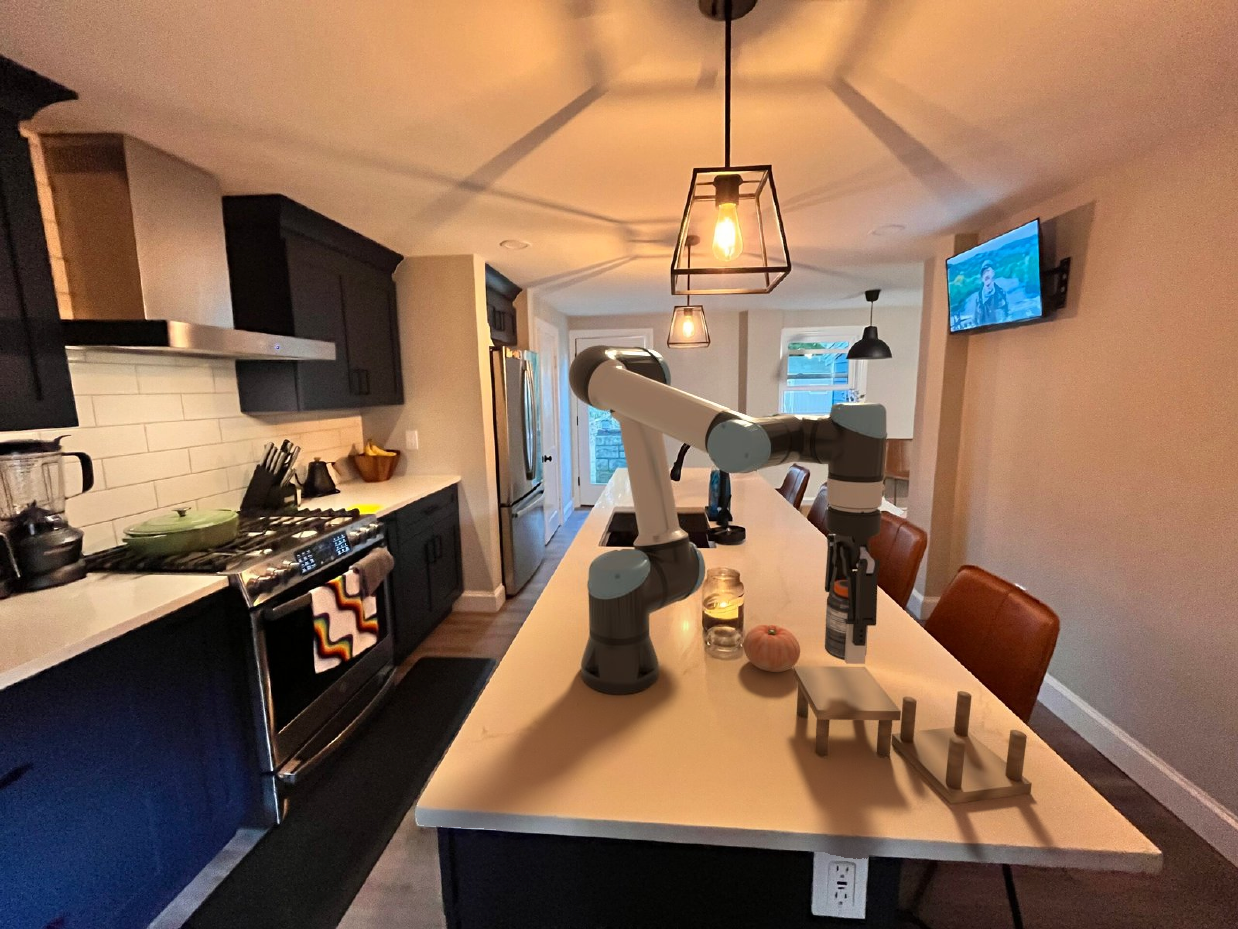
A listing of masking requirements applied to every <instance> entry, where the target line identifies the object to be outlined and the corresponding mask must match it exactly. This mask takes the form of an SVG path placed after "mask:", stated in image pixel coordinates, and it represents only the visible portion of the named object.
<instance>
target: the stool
mask: <svg viewBox="0 0 1238 929" xmlns="http://www.w3.org/2000/svg"><path fill="white" fill-rule="evenodd" d="M792 675H793V677H794V680H795V681H796V683H797V693H796V694H797V695H796V696H797V699H796V700H797V701H796V716H797V717H799V718H802V719H806V718H808V717H809V708H811V711H812V712H813V714H814V716H815V718H816V724H815V725H816V726H815V727H816V728H815V747H814V749H815V750H814V753H815V754H816V755H817V756H819V757H821V758H826V757H828V756H829V739H830V738H829V737H830V721H831V720H832V721H833V720H834V721H835V720H837V721H839V720H840V721H878V724H877V725H878V726H877V738H876V754H877V755H878V756H879V757H881V758H885V759H888V758H890V756H891V744H892V731H893V730H892V729H893V721H901V718H902V710H901V709H900V708H899V707H898V706H897V704H896V703H895V701H893V700H892V698H891V697H890V695H889V694H888V693H887V692H886V691H885V689H883V687H882V686H881V684H880V683H879V682H878V681H877V680H876V678H875V677H874V676H873V675H872V673H871V672H870V671H869V670H868V668H867V667H866V666H830V665H829V666H827V665H825V666H819V665H817V666H814V665H813V666H811V665H810V666H808V665H807V666H806V665H803V666H802V665H794V666H793V667H792Z"/></svg>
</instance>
